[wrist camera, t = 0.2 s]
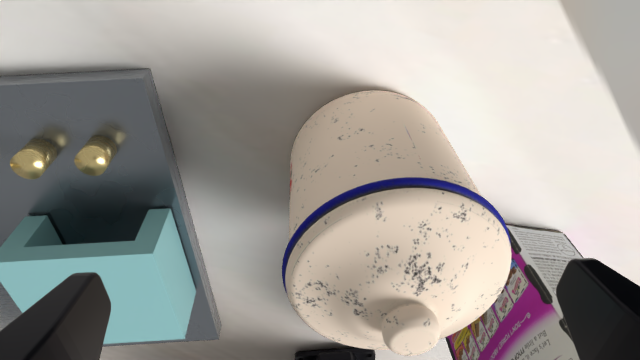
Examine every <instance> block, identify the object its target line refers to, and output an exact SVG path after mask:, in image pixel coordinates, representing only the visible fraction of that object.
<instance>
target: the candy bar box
mask: <svg viewBox="0 0 640 360" xmlns="http://www.w3.org/2000/svg"><path fill="white" fill-rule="evenodd" d="M506 227H507V229H508V232H509V236H510V242H511V253H512V254H511V266H510V272H509V275H508V279H507V281H506V284H505V286H504V288H503V290H502V291H501V293H500V295H499V296H498V298H497V299H496V300H495V302H494V303H493V304H492V305H491V306H490V308H489V309H488V310H487V311H486V312H484V313H483V314H482V315H481V316H480V317H479V318H477V319H476V320H475V321H473V322H472V323H471V324H469V325H468V326H466V327H464V328H463V329H461V330H459V331H457V332H455V333H453V334H451V335H449V336H447V337H445V338H446V341H447V344H448V347H449V350H450V353H451V356H452V358H453V360H580V359H579V357H578V354H577V351H576V349H575V346H574V343H573V341H572V338H571V335H570V333H569V330H568V327H567V324H566V322H565V319H564V316H563V314H562V311H561V308H560V306H559V303H558V300H557V297H556V287H557V284H558V282H559V280H560V278H561V276H562V274H563V272H564V270H565V268H566V266H567V264H568V262H569V261H570V260H572V259H575V258H583V257H582V255H581V254H580V253H579V252H578V250H577V249H576V248H575V246H574V245H573V244H572V243H571V241H570V240H569V239H568V238H567V237H566V235H565V234H564V233H563V232H559V231H554V230H548V229H534V228H526V227H520V226H514V225H506Z"/></svg>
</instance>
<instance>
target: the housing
mask: <svg viewBox="0 0 640 360" xmlns="http://www.w3.org/2000/svg"><path fill="white" fill-rule="evenodd" d="M85 272H95V273H97V274H98V275H100V277H101V279H102V282H103V284H104V286H105V289H106V291H107V293H108V296H109V298H110V301H111V313H110V318H109V322H108V326H107V330H106V334H105V338H104V342H103V344H111V343H128V342H144V341H160V340H176V339H185V335H186V331H187V327H188V323H189V319H190V315H191V311H192V307H193V303H194V299H195V294H196V289H195V286H194V283H193V280H192V276H191V273H190V270H189V267H188V263H187V260H186V257H185V254H184V251H183V247H182V244H181V241H180V238H179V234H178V231H177V228H176V225H175V222H174V218H173V215H172V212H171V209H170V208H167V209H149V210H148V212H147V214H146V217H145V219H144V221H143V223H142V226H141V228H140V230H139V232H138V234H137V237H136V239H135V241H121V242H104V243H87V244H70V245H63V244H62V242H61V240H60V239H59V237H58V235H57V233H56V231H55V229H54V227H53V225H52V224H51V222H50V220H49V218H48V216H47V215H43V216H26V217H24V219H23V220H22V221H21V222H20V224H19V225H18V226H17V227H16V228H15V230H14V231H13V232H12V233H11V235H10V236H9V237H8V238H7V240H6V241H5V242H4V243H3V245H2V246H1V247H0V282H1V283H2V285H3V286H4V288H5V289H6V290H7V292H8V293H9V295H10V296H11V298H12V299H13V300H14V302H15V303H16V305H17V306H18V308H19V309H20V310H21V312H22V313H23V312H25V311H26V310H27V309H28V308H30V307H31V306H32V305H33V304H35V303H36V302H37V301H38V300H40V299H41V298H42V297H43V296H45V295H46V294H47V293H48V292H50V291H51V290H52V289H54V288H55V287H56V286H57V285H59V284H60V283H61V282H62V281H64V280H65V279H66V278H67V277H69V276H70V275H72V274H74V273H85Z"/></svg>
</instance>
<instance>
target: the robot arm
mask: <svg viewBox="0 0 640 360" xmlns="http://www.w3.org/2000/svg"><path fill="white" fill-rule="evenodd" d="M556 297H557V300H558V303H559V306H560V308H561V311H562V314H563V316H564V319H565V322H566V324H567V327H568V330H569V333H570V335H571V338H572V341H573V343H574V346H575V349H576V351H577V354H578V357H579V359H580V360H640V286H638V285H637V284H635V283H634V282H632V281H630V280H629V279H627V278H625V277H624V276H622V275H621V274H619V273H617V272H616V271H614V270H613V269H611V268H609V267H608V266H606V265H605V264H603V263H601V262H600V261H598V260H596V259H593V258H575V259H572V260H570V261H569V262H568V264H567V266H566V268H565V270H564V272H563V274H562V276H561V278H560V280H559V282H558V284H557V287H556ZM110 313H111V301H110V298H109V296H108V293H107V291H106V289H105V286H104V284H103V282H102V279H101V277H100V275H98V274H97V273H95V272H85V273H74V274H72V275H70V276H69V277H67V278H66V279H65V280H64V281H62V282H61V283H60V284H59V285H57V286H56V287H55V288H54V289H52V290H51V291H50V292H48V293H47V294H46V295H45V296H43V297H42V298H41V299H40V300H38V301H37V302H36V303H35V304H33V305H32V306H31V307H30V308H28V309H27V310H26V311H25V312H23V313H22V314H21V315H20V316H18V317H17V318H16V319H14V320H13V321H12V322H11V323H9V324H8V325H7V326H6V327H4V328H3V329H2V330H1V331H0V360H99V358H100V354H101V350H102V346H103V342H104V338H105V334H106V330H107V326H108V322H109V318H110ZM295 360H375V350H374V349H363V348H350V349H334V350H318V351H303V352H297V353H296V354H295Z"/></svg>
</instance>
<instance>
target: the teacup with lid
mask: <svg viewBox="0 0 640 360" xmlns="http://www.w3.org/2000/svg"><path fill="white" fill-rule="evenodd" d="M511 254H512V253H511V242H510V236H509V232H508V229H507V227H506V224H505V222H504V220H503V219H502V217H501V216H500V214H499V213H498V211H497V210H496V209H495V208H494V207H493V206H492V205H491V204H490V203H489V202H488V201H487V200H486V199H484V198H483V197H482V196H481V195H480V193H479V191H478V190H477V188H476V186H475V185H474V183H473V181H472V179H471V178H470V176H469V174H468V173H467V171H466V169H465V168H464V166H463V164H462V163H461V161H460V159H459V157H458V156H457V154H456V152H455V151H454V149H453V147H452V146H451V144H450V142H449V141H448V139H447V137H446V135H445V134H444V132H443V130H442V129H441V127H440V125H439V124H438V122H437V121H436V119H435V118H434V117H433V115H432V114H431V113H430V112H429V111H428V110H427V109H426V108H425V107H424V106H422V105H421V104H419V103H418V102H416V101H415V100H413V99H411V98H409V97H406V96H404V95H401V94H398V93H394V92H389V91H377V90H371V91H361V92H355V93H351V94H348V95H345V96H342V97H339V98H337V99H335V100H333V101H331V102H329V103H328V104H326V105H324V106H323V107H322V108H320V109H319V110H318V111H316V112H315V113H314V114H313V115H312V116H311V117H310V118H309V119H308V120H307V121H306V123H305V124H304V125H303V126H302V128H301V130H300V131H299V133H298V135H297V137H296V139H295V142H294V144H293V148H292V152H291V159H290V208H289V243H288V246H287V248H286V251H285V254H284V258H283V265H282V278H283V284H284V288H285V291H286V293H287V295H288V298H289V300H290V303H291V305H292V306H293V308H294V310H295V311H296V312H297V314H298V315H299V316H300V318H301V319H302V320H303V321H304V322H305V323H306V324H307V325H308V326H309V327H311V328H312V329H313V330H315V331H316V332H318V333H319V334H321V335H322V336H324V337H326V338H328V339H330V340H333V341H335V342H338V343H341V344H344V345H348V346H352V347H357V348H363V349H374V350H392V351H393V352H395V353H397V354H400V355H405V356H413V355H419V354H422V353H425V352H427V351H429V350H430V349H432V348H433V347H434V346H435V345H436V344H437V342H438V340H439V339H442V338H445V337H447V336H449V335H451V334H453V333H455V332H457V331H459V330H461V329H463V328H464V327H466V326H468V325H469V324H471V323H472V322H473V321H475V320H476V319H477V318H479V317H480V316H481V315H482V314H483V313H484V312H486V311H487V310H488V309H489V308H490V306H491V305H492V304H493V303H494V302H495V300H496V299H497V298H498V296H499V295H500V293H501V291H502V290H503V288H504V286H505V284H506V281H507V279H508V275H509V272H510V266H511Z"/></svg>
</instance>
